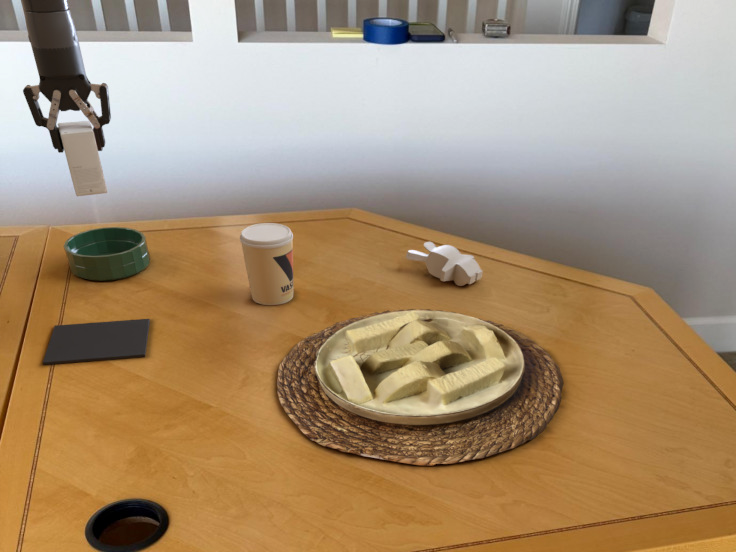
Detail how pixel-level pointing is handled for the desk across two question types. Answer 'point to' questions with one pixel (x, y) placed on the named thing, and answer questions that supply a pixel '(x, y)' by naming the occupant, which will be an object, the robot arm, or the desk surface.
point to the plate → (419, 387)
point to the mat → (97, 341)
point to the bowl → (107, 253)
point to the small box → (82, 158)
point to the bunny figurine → (448, 263)
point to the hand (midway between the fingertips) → (80, 150)
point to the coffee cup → (269, 262)
